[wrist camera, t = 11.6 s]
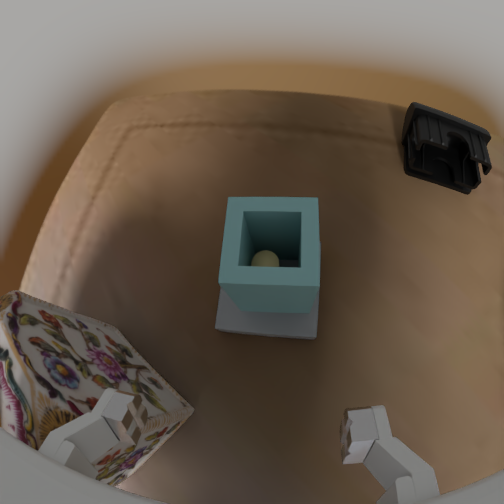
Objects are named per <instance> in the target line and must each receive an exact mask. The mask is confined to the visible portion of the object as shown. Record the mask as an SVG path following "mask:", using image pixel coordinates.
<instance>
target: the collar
mask: <svg viewBox="0 0 504 504" xmlns="http://www.w3.org/2000/svg"><path fill="white" fill-rule="evenodd" d="M264 250H268V251H271V252H273V253H275V254H276V255H277V257H278V259H279V260H298V268H297V267H258V266H251V262H252V259H253V257H254V256H255V254H257V253H258V252H260V251H264ZM218 283H219V285H220V286H221V287H222V288H223V290H224V291H225V292H226V293H227V294H228V296H229V297H230V298H231V299H232V301H233V302H234V303H235V304H236V305H237V307H238V308H239V309H240V310H241V311H253V312H276V313H310V311H311V308H312V306H313V303H314V300H315V298H316V295H317V292H318V290H319V287H320V245H319V211H318V198H314V197H228V204H227V212H226V220H225V228H224V236H223V244H222V253H221V261H220V270H219V279H218Z"/></svg>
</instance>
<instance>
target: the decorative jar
mask: <svg viewBox="0 0 504 504" xmlns="http://www.w3.org/2000/svg"><path fill="white" fill-rule="evenodd" d="M107 388H113V389H117V390H121V391H125V392H129V393H133V394H138V395H140V396H141V398H142V402H141V403H142V404H143V405H144V406H145V407H146V409H147V412H148V418H147V422H146V425H145V426H144V427H143V428H141V429H140V431H141V436H140V438H139V440H138V443H137V445H133V444H129V443H125V442H121V441H119V443H117V444H116V445H115V446H114V447H112V448H111V449H110V450H108V451H107V452H106V453H104V454H103V455H101V456H100V457H99V458H97V459H96V460H95V461H93V462H92V463H91V464H92V465H93V466H94V467H95V468H96V469H97V471H98V474H97V476H96V479H95V480H98V481H100V482H103V483H105V484H108V485H111V486H113V487H114V486H116V485H118V484H120V483H121V482H123V481H125V480H126V479H127V478H129V477H130V476H131V475H132V474H133V473H135V471H136V470H137V469H138V468H139V467H140V466H142V465H143V464H144V463H145V462H146V461H147V460H148V459H149V458H150V457H151V456H152V455H153V454H154V453H155V452H156V451H157V450H158V449H159V448H160V447H161V446H162V445H163V444H164V443H165V442H166V441H167V440H168V439H169V438H170V437H171V436H172V435H173V434H174V433H175V432H176V431H177V430H178V429H179V428H180V426H181V425H182V424H183V423H184V422H185V421H186V420H187V419H188V418H189V417H190V416H191V415H192V414H193V412H194V408H193V407H192V406H191V405H190V404H189V403H188V402H187V401H186V400H185V399H184V398H182V397H181V395H179V394H178V393H177V392H176V391H175V390H174V389H173V388H172V387H171V386H170V385H169V384H168V383H167V382H166V381H165V379H163V378H162V377H161V376H160V375H159V374H158V373H157V372H156V371H155V370H154V369H153V368H152V367H151V366H150V364H149V363H148V362H147V361H146V360H145V359H144V358H143V357H142V356H141V355H140V354H139V353H138V352H137V351H136V350H135V349H134V348H133V346H132V345H131V344H130V343H129V342H128V341H127V339H126V338H125V337H124V336H123V335H122V334H121V332H120V331H119V330H118V329H117V328H116V327H114V326H112V325H110V324H107V323H105V322H102V321H99V320H96V319H93V318H90V317H87V316H84V315H81V314H78V313H75V312H72V311H69V310H67V309H64V308H62V307H59V306H56V305H54V304H51V303H48V302H46V301H43V300H40V299H38V298H35V297H32V296H30V295H28V294H25V293H23V292H21V291H15V290H14V291H10V292H9V293H8V294H6V295H3V296H2V297H0V427H1V428H3V429H4V430H6V431H7V432H8V433H10V434H11V435H13V436H14V437H16V438H17V439H19V440H21V441H22V442H24V443H25V444H27V445H29V446H30V447H32V448H34V449H35V450H37V451H38V450H39V449H40V447H41V445H42V444H43V442H44V441H45V439H46V438H47V436H48V435H49V433H50V432H51V431H53V430H55V429H57V428H59V427H61V426H63V425H65V424H67V423H69V422H70V421H72V420H74V419H76V418H78V417H80V416H82V415H84V414H86V413H88V412H90V413H91V412H92V410H93V409H94V407H95V405H96V404H97V402H98V401H99V399H100V397H101V396H102V394H103V393H104V391H105V390H106V389H107Z"/></svg>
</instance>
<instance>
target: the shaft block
mask: <svg viewBox="0 0 504 504" xmlns="http://www.w3.org/2000/svg"><path fill="white" fill-rule="evenodd" d="M319 245H320V266H321V242H319ZM251 266H258V267H297V268H298V260H279V259H278V257H277V255H276V254H275V253H273V252H271V251H268V250H264V251H260V252H258V253H257V254H255V256H254V257H253V259H252V262H251ZM319 289H320V287H319ZM318 307H319V290H318V292H317V295H316V298H315V300H314V303H313V306H312V308H311V311H310V313H276V312H253V311H241V310H240V309H239V308H238V307H237V305H236V304H235V303H234V302H233V301H232V299H231V298H230V297H229V296H228V294H227V293H226V292H225V291H224V290H223V288H222V287H221V289H220V295H219V302H218V309H217V316H216V323H215V329H217V330H219V331H222V332H230V333H239V334H249V335H259V336H270V337H282V338H295V339H311V340H314V339H315V338H316V336H317V322H318Z"/></svg>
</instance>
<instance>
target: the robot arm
mask: <svg viewBox="0 0 504 504" xmlns="http://www.w3.org/2000/svg"><path fill="white" fill-rule="evenodd" d="M141 402H142V398H141V396H140V395H138V394H133V393H129V392H125V391H121V390H117V389H113V388H107V389H106V390H105V391H104V393H103V394H102V396H101V397H100V399H99V401H98V402H97V404H96V405H95V407H94V409H93V410H92V412H91V413H90V412H88V413H86V414H84V415H82V416H80V417H78V418H76V419H74V420H72V421H70V422H69V423H67V424H65V425H63V426H61V427H59V428H57V429H55V430H53V431H51V432H50V433H49V435H48V436H47V438H46V439H45V441H44V442H43V444H42V445H41V447H40V449H39V450H38V451H37V450H35V449H34V448H32V447H30V446H29V445H27V444H25V443H24V442H22V441H21V440H19V439H17V438H16V437H14V436H13V435H11V434H10V433H8V432H7V431H6V430H4V429H3V428H1V427H0V504H169V503H165V502H161V501H157V500H153V499H150V498H146V497H143V496H140V495H137V494H133V493H130V492H127V491H124V490H122V489H119V488H116V487H113V486H111V485H108V484H105V483H103V482H100V481H98V480H95V479H96V476H97V474H98V471H97V469H96V468H95V467H94V466H93V465H92V464H91V463H92V462H93V461H95V460H96V459H97V458H99V457H100V456H101V455H103V454H104V453H106V452H107V451H108V450H110V449H111V448H112V447H114V446H115V445H116V444H117V443H119V441H121V442H125V443H129V444H133V445H137V443H138V440H139V438H140V436H141V431H140V429H141V428H143V427H144V426H145V425H146V422H147V418H148V412H147V409H146V407H145V406H144V405H143V404H142V403H141ZM340 442H341V443H342V444H343V447H342V450H341V455H342V464H352V463H363V462H364V463H363V464H364V465H365V466H366V468H367V469H368V470H369V471H370V472H371V473H372V475H373V476H374V477H375V478H376V479H377V480H378V482H379V483H380V484H381V485H382V486H383V487H384V489H385V490H386V492H385V493H384V494H383V495H382V496H381V497H380V499H379V500H378V501H377V502H376V504H504V469H502V470H500V471H498V472H496V473H494V474H492V475H490V476H488V477H486V478H484V479H481V480H479V481H477V482H474V483H472V484H469V485H467V486H464V487H462V488H459V489H456V490H453V491H451V492H448V493H445V494H442V495H440V493H439V489H438V484H437V480H436V476H435V472H434V469H433V468H432V467H431V466H430V465H428V464H427V463H426V462H425V461H424V460H422V459H421V458H420V457H419V456H418V455H416V454H415V453H414V452H413V451H412V450H411V449H409V448H408V447H407V446H406V445H405V444H404V443H402V442H401V441H400V440H399V439H398V438H397V437H392V433H391V429H390V425H389V421H388V417H387V413H386V409H385V407H384V405H379V406H371V407H370V406H367V407H357V408H346V409H345V411H344V419H343V420H342V421H341V425H340Z"/></svg>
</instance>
